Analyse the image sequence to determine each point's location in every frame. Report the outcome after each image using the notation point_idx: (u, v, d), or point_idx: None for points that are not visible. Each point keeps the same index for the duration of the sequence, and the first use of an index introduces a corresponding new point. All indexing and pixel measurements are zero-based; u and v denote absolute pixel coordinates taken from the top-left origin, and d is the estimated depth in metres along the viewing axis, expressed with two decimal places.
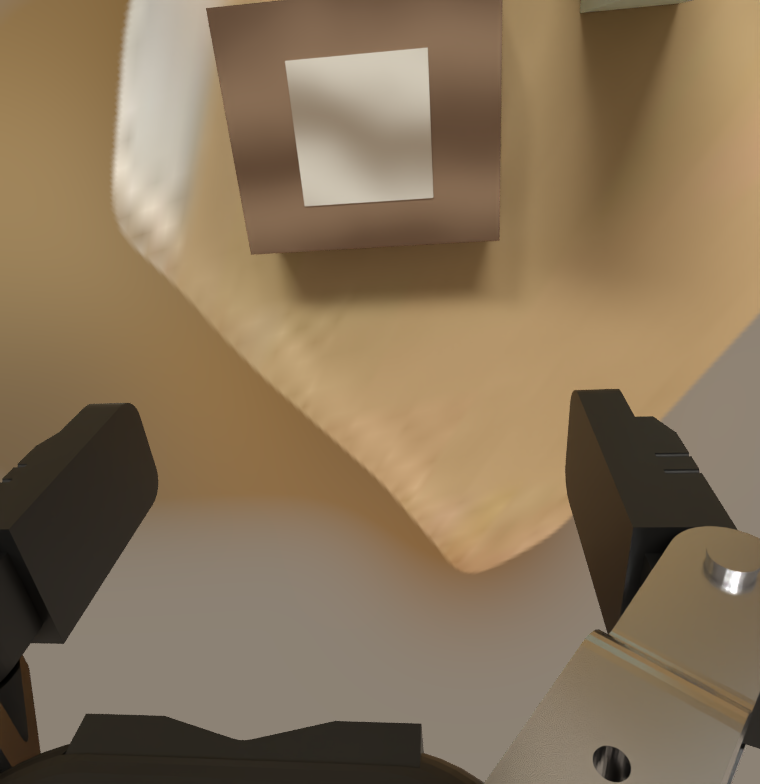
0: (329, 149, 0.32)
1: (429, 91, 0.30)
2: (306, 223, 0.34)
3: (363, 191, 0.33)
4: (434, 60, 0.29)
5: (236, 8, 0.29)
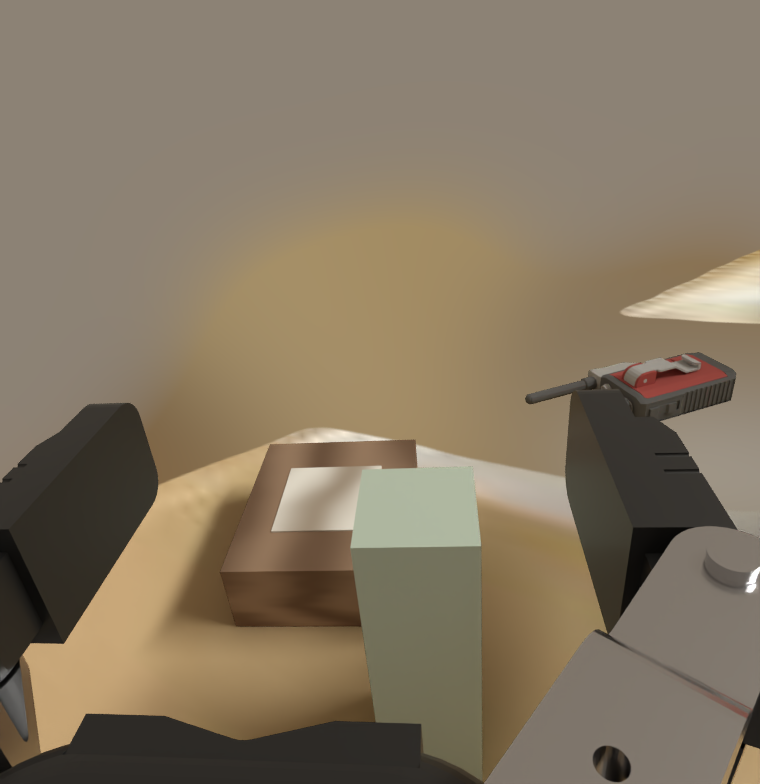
0: (323, 482, 0.45)
1: (346, 530, 0.40)
2: (279, 469, 0.47)
3: (290, 496, 0.44)
4: None
5: (413, 450, 0.48)
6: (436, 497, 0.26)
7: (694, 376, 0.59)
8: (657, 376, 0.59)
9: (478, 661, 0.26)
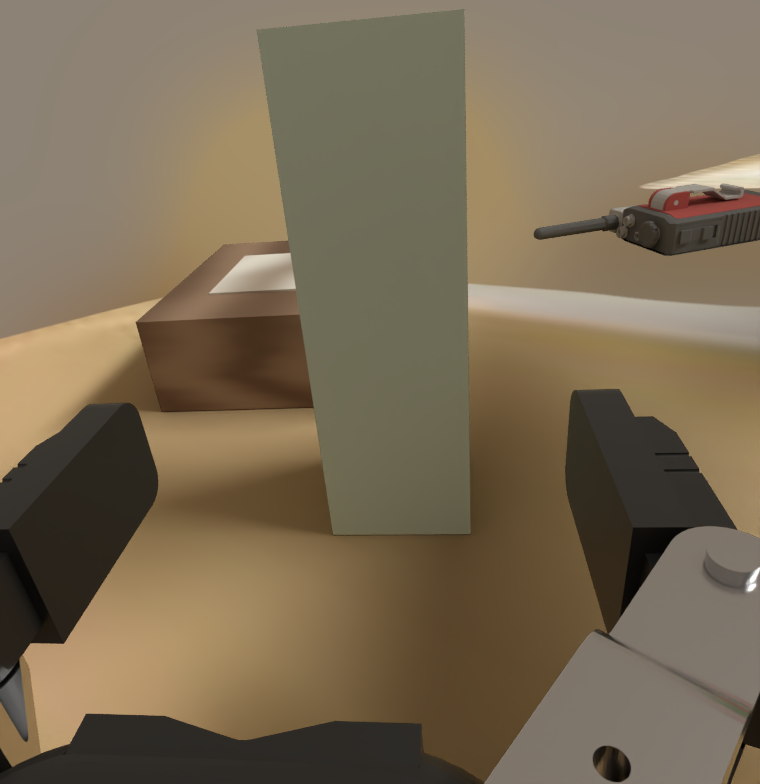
0: (282, 262, 0.37)
1: None
2: (231, 257, 0.39)
3: (239, 272, 0.35)
4: None
5: None
6: None
7: (735, 202, 0.49)
8: (690, 203, 0.50)
9: (462, 285, 0.17)
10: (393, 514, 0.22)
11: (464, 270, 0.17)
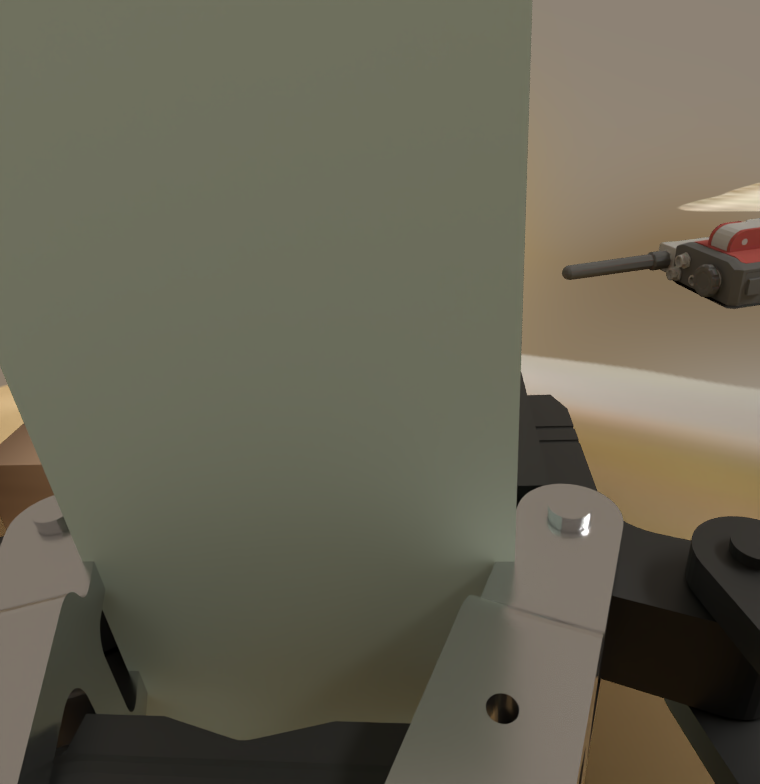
0: None
1: None
2: None
3: None
4: None
5: None
6: None
7: None
8: None
9: None
10: None
11: None
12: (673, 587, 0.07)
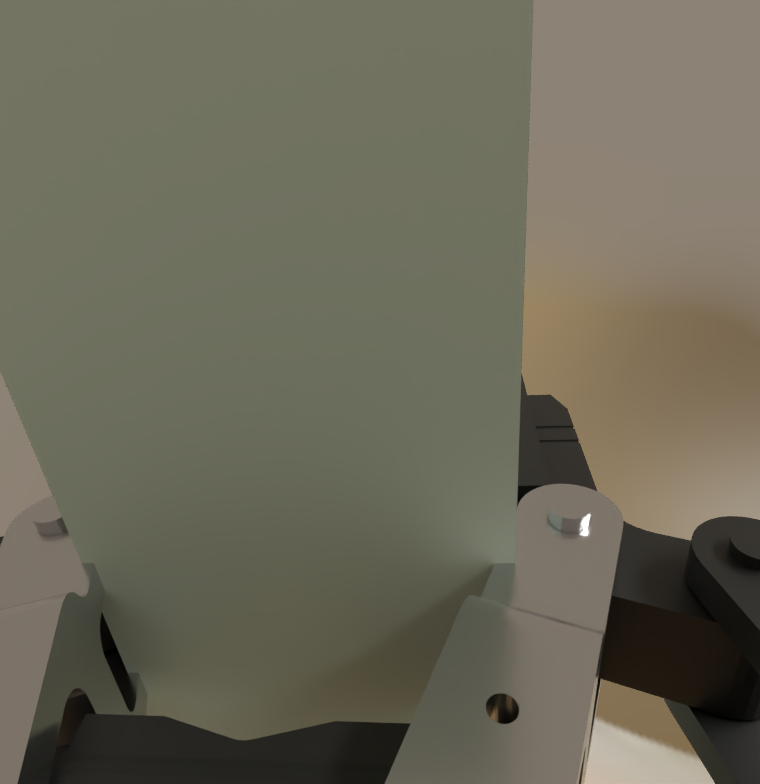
0: None
1: None
2: None
3: None
4: None
5: None
6: None
7: None
8: None
9: None
10: None
11: None
12: (673, 587, 0.07)
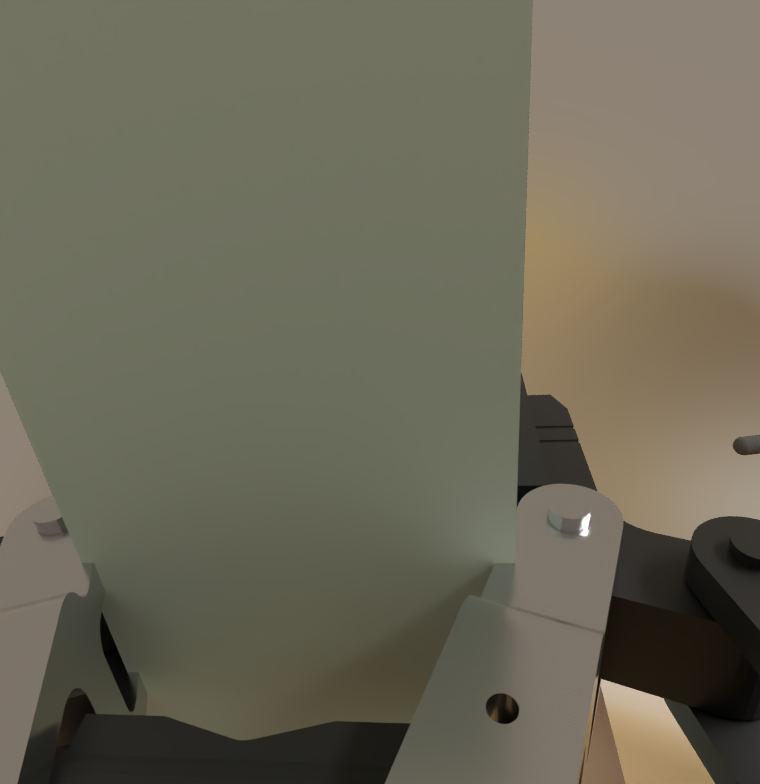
0: None
1: None
2: None
3: None
4: None
5: None
6: None
7: None
8: None
9: None
10: None
11: None
12: (673, 587, 0.07)
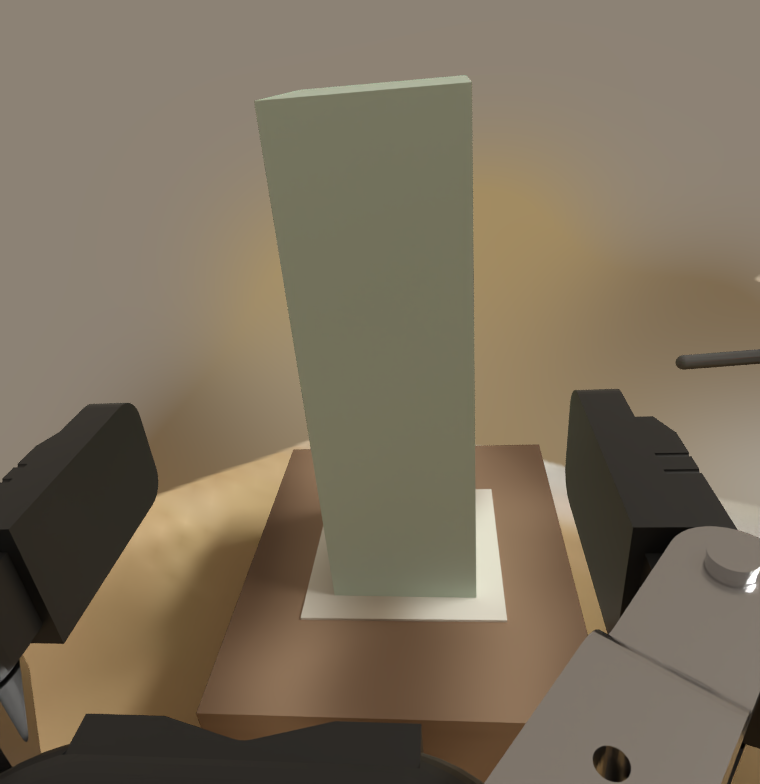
0: None
1: (449, 620, 0.20)
2: (311, 492, 0.27)
3: None
4: (490, 629, 0.20)
5: (540, 462, 0.28)
6: (406, 82, 0.16)
7: None
8: None
9: (468, 355, 0.17)
10: (396, 577, 0.21)
11: (471, 341, 0.17)
12: None
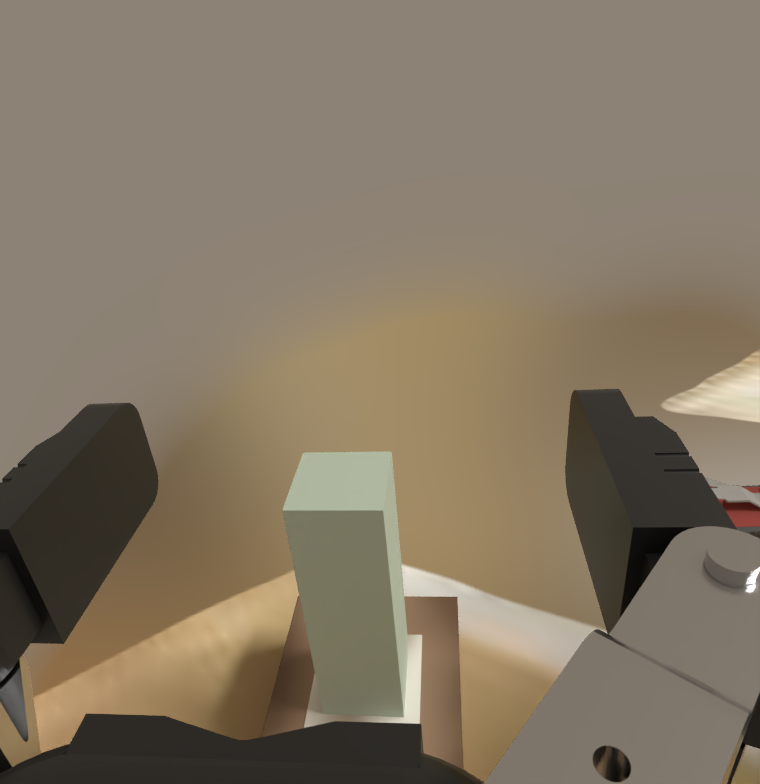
0: None
1: None
2: None
3: None
4: None
5: (455, 612, 0.44)
6: (357, 474, 0.32)
7: None
8: (728, 504, 0.55)
9: (390, 608, 0.33)
10: (358, 705, 0.37)
11: (390, 603, 0.32)
12: None
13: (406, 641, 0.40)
